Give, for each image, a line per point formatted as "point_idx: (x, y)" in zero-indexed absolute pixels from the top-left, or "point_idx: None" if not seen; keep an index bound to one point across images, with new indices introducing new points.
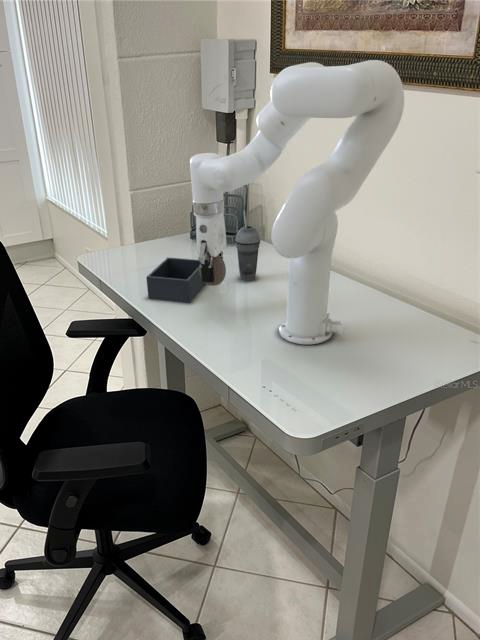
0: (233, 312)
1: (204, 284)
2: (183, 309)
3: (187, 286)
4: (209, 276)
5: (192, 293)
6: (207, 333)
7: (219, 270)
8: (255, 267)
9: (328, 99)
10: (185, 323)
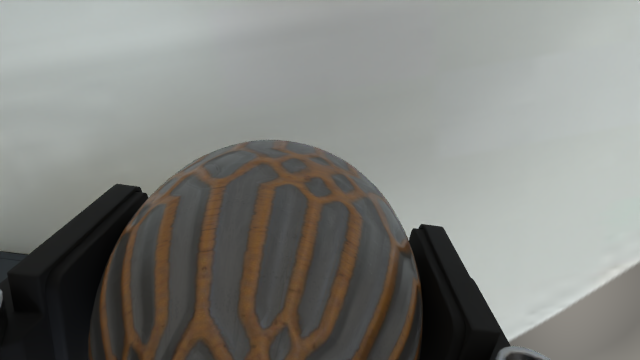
0: (333, 32)
1: (13, 256)
2: None
3: None
4: (480, 293)
5: None
6: (592, 134)
7: (387, 223)
8: None
9: None
10: (474, 255)
